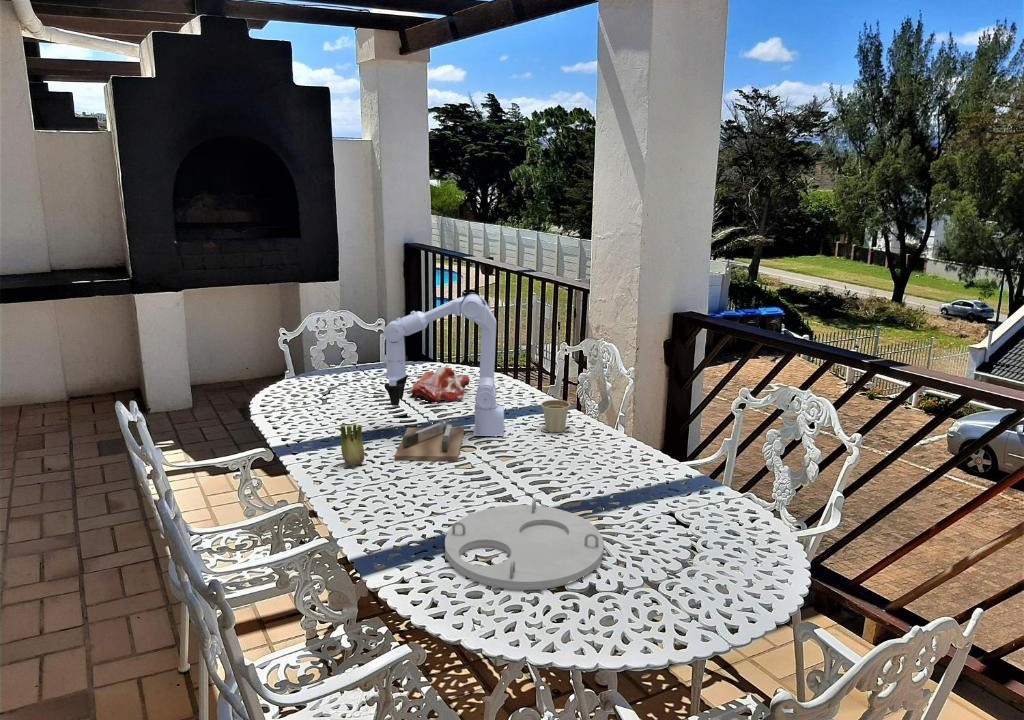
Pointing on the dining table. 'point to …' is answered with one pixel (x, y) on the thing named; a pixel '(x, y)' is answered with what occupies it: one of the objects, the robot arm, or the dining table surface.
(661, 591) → the dining table surface
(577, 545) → the slab
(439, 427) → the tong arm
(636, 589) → the dining table surface
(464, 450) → the dining table surface
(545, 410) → the flower pot
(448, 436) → the fixed tong arm
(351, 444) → the fennel bulb
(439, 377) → the meat
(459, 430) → the walnut board
